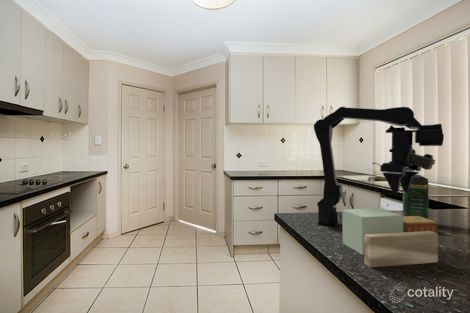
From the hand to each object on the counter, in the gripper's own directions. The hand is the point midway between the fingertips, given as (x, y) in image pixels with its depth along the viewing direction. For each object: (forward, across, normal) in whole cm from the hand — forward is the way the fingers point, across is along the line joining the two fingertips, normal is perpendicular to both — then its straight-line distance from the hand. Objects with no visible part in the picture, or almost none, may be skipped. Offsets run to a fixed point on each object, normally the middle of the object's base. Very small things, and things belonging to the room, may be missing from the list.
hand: (400, 193), depth 82 cm
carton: (+14, +6, 0) cm, 15 cm away
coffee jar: (+14, +19, +1) cm, 23 cm away
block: (+14, -20, +1) cm, 24 cm away
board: (+13, -26, -8) cm, 30 cm away
